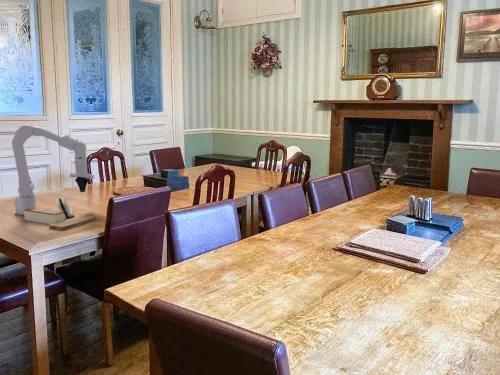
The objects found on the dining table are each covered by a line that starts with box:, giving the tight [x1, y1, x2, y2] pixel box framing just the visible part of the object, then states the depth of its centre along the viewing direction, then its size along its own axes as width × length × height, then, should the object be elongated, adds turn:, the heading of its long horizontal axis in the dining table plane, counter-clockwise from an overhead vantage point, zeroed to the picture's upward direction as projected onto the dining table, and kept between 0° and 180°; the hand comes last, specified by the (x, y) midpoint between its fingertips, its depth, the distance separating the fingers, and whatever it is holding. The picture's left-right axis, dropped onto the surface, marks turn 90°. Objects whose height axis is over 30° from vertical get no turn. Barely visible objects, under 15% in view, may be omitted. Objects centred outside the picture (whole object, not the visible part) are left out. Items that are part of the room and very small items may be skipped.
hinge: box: [55, 196, 76, 220], centre depth 229 cm, size 17×5×10 cm, turn 23°
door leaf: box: [48, 214, 96, 231], centre depth 214 cm, size 8×20×2 cm, turn 155°
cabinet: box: [23, 207, 65, 225], centre depth 218 cm, size 20×5×5 cm, turn 65°
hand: (82, 191), depth 239 cm, fingers closed
